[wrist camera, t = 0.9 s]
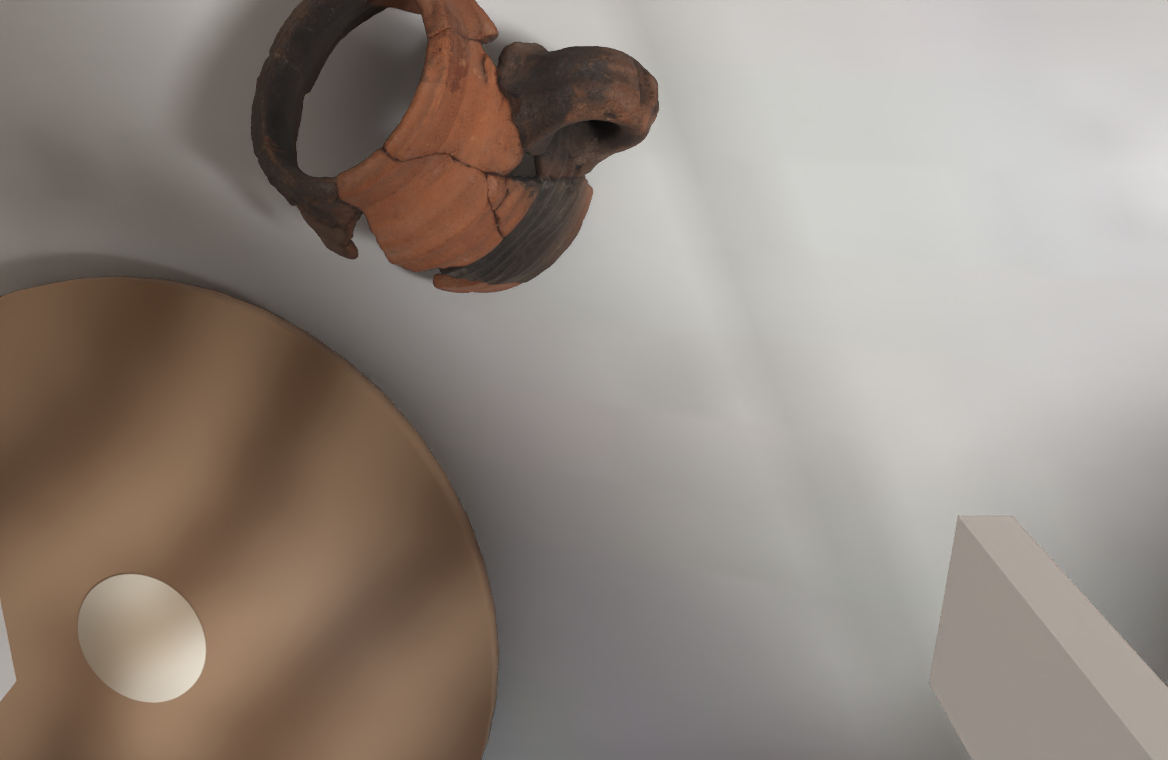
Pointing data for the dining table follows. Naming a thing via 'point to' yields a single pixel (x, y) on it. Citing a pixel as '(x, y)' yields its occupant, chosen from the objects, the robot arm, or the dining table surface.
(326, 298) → the dining table surface
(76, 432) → the disc
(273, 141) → the pottery mug
